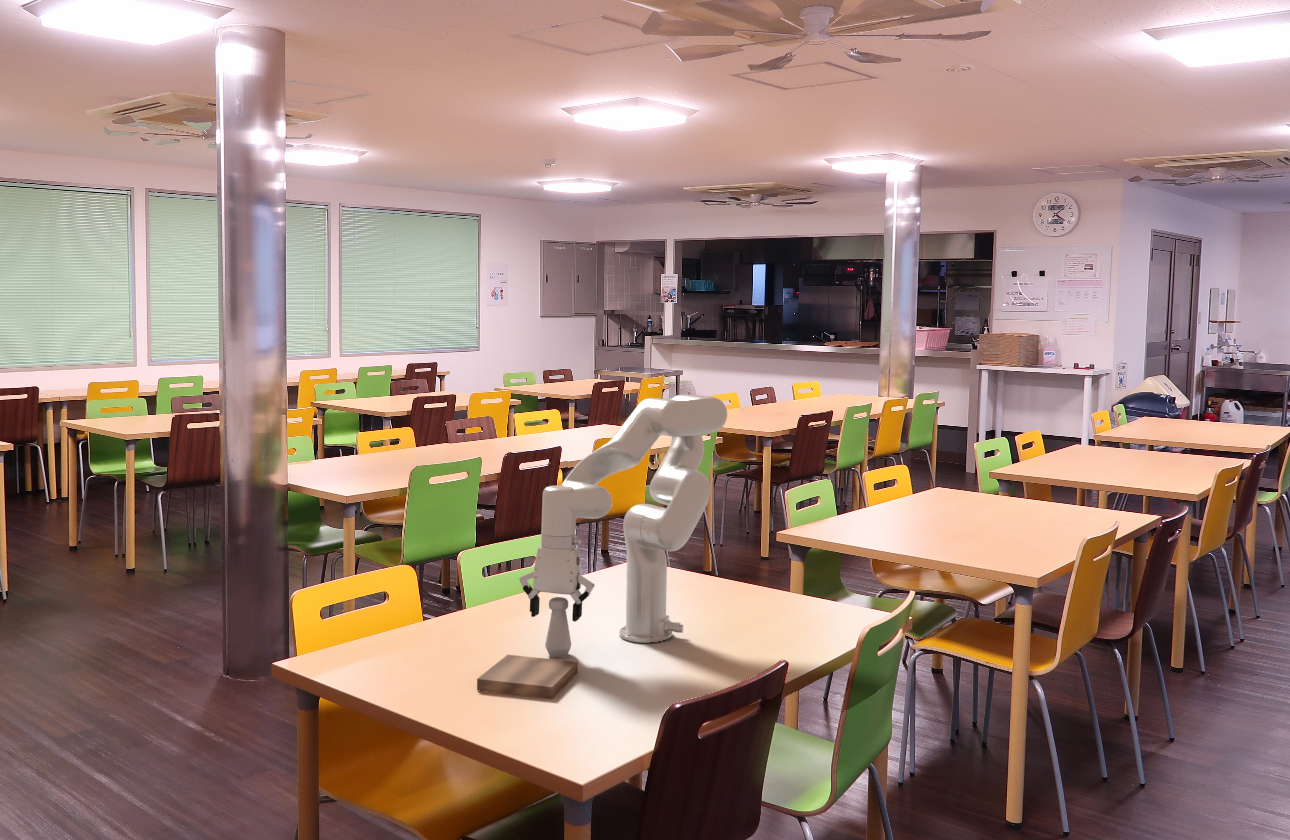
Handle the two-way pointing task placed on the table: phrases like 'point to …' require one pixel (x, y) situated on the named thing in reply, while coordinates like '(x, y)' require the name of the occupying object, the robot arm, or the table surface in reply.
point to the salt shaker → (558, 629)
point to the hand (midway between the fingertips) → (555, 617)
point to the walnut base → (528, 676)
